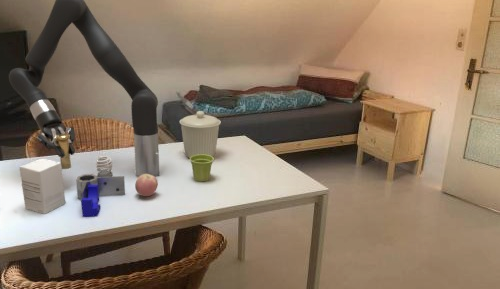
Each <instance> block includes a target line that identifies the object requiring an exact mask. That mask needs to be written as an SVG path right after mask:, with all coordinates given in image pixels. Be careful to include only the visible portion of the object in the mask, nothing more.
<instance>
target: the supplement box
mask: <svg viewBox="0 0 500 289" xmlns="http://www.w3.org/2000/svg"><path fill="white" fill-rule="evenodd" d="M19 172H20V173H19V174H20V181H21V187H22V188H21V189H22V194H23V202H24V209H26V210H29V211H33V212H37V213H40V214H44V215H46V214H48V213H50V212H51V211H53V210H55V209H57V208H59V207H61V206H63V205H65V204H66V195H65V185H64V178H63V170H62V168H61V161H60V162H59V161H54V160H49V159H46V158H39V159H37V160H34V161H31V162H28V163H26V164H23V165H20V166H19Z"/></svg>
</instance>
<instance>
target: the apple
mask: <svg viewBox="0 0 500 289" xmlns="http://www.w3.org/2000/svg"><path fill="white" fill-rule="evenodd" d="M158 186H159V182H158V179H157V176H153V175H150V174H142V175H140V176H137V178H136V180H135V183H134V188H135V190H136V192H137V194H139V195H141V196H144V197H150V196H152V195H153V194H154V193H155V192H156V191H157V189H158Z"/></svg>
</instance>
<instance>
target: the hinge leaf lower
mask: <svg viewBox="0 0 500 289" xmlns="http://www.w3.org/2000/svg"><path fill="white" fill-rule="evenodd" d="M76 192H77V193H76V194H77V199H78V200H80V201H81V200H82V198H88V189H87V182H86V181H85V182H84V184H83V187H82V190H81V191H80V190H77V189H76ZM80 205H81V207H82V204H81V203H80Z"/></svg>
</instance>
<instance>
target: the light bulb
mask: <svg viewBox="0 0 500 289" xmlns="http://www.w3.org/2000/svg"><path fill="white" fill-rule="evenodd" d="M97 158H98V159H96V161H95V162H96V163H95V165H96V166H95V167H96V171H97V172H98V173H97V174H96V175H97V176H98V177H110V176H113V172H112V169H113V162H112V158H111V157H110V156H108V155H100V156H98V157H97Z"/></svg>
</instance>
